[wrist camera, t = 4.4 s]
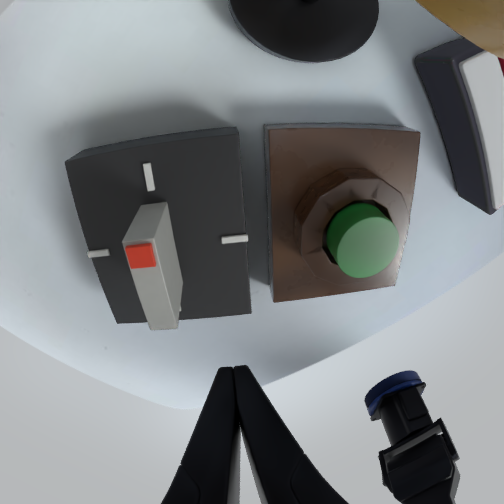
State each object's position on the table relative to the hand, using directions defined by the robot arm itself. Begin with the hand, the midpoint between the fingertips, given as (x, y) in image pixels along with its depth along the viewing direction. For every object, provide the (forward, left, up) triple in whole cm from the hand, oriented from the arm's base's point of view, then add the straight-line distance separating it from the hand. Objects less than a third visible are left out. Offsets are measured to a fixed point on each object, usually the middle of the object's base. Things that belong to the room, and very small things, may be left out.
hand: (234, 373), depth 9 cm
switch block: (0, -7, -11) cm, 13 cm away
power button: (0, -7, -8) cm, 11 cm away
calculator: (+9, -21, -12) cm, 26 cm away
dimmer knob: (0, +3, -9) cm, 10 cm away
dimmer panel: (0, +3, -11) cm, 12 cm away
